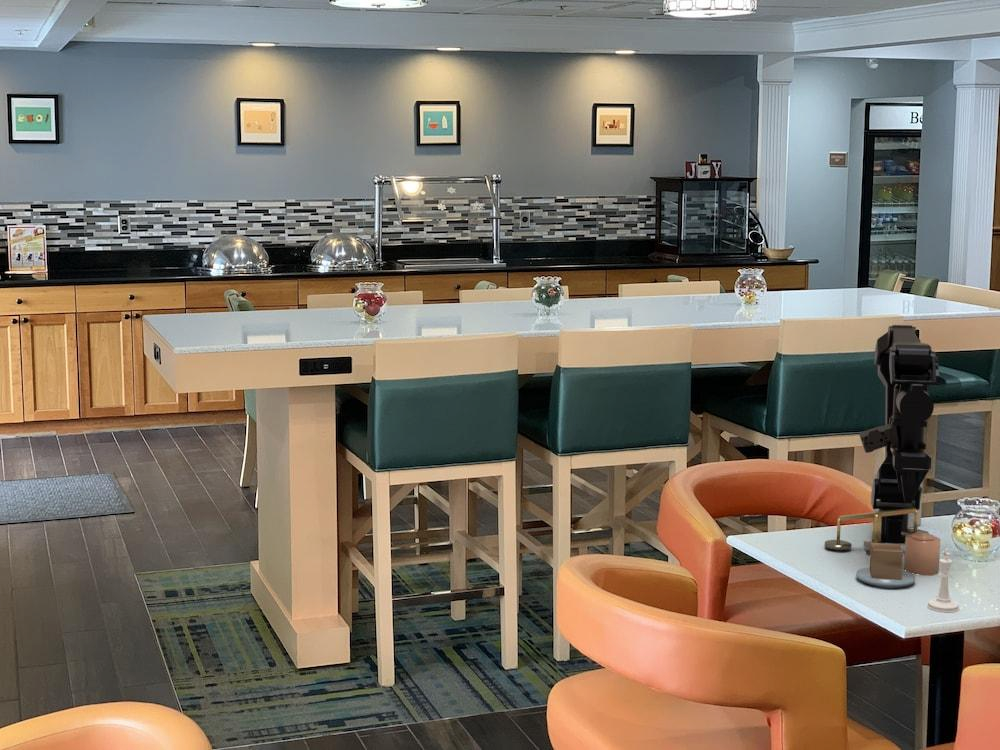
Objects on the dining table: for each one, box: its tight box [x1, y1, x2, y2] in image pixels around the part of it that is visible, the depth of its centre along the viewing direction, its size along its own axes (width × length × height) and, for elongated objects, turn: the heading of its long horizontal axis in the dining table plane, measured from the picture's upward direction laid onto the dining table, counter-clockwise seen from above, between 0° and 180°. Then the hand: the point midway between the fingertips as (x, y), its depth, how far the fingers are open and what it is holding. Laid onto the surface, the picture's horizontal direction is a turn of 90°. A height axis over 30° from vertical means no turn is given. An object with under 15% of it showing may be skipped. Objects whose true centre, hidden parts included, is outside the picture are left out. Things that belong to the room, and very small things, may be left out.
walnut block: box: [869, 542, 904, 580], centre depth 228 cm, size 5×5×5 cm
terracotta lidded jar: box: [903, 533, 941, 576], centre depth 234 cm, size 6×6×6 cm
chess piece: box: [927, 548, 960, 613], centre depth 213 cm, size 5×5×10 cm
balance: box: [824, 507, 930, 556], centre depth 246 cm, size 6×19×9 cm, turn 79°
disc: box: [855, 566, 916, 589], centre depth 228 cm, size 10×10×1 cm
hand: (904, 496), depth 237 cm, fingers open, 9 cm apart
